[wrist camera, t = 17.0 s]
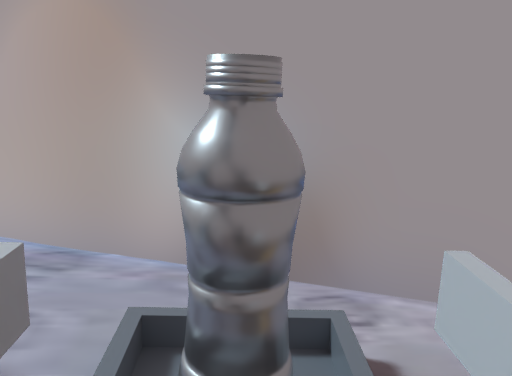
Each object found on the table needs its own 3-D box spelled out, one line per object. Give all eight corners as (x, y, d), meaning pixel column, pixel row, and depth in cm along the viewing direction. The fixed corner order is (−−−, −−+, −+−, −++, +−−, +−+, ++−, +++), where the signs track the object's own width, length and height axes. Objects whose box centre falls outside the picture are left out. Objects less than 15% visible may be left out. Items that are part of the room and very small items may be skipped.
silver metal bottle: (181, 485, 22) (179, 48, 17) (173, 393, 28) (171, 57, 24) (309, 464, 23) (337, 55, 19) (274, 381, 30) (289, 62, 25)
